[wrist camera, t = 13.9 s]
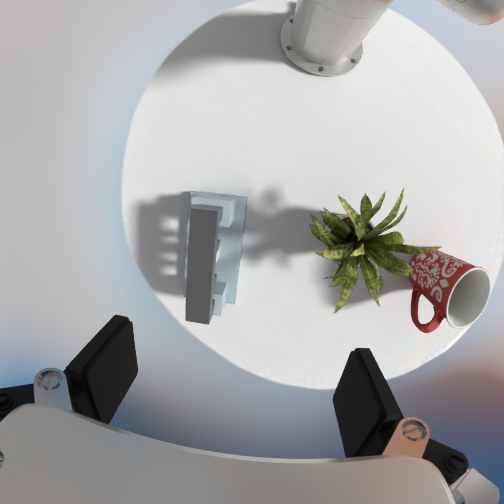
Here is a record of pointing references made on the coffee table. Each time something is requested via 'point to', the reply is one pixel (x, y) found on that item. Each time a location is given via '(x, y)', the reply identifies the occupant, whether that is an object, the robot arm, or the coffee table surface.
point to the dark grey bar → (202, 262)
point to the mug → (448, 289)
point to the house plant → (363, 246)
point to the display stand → (223, 244)
